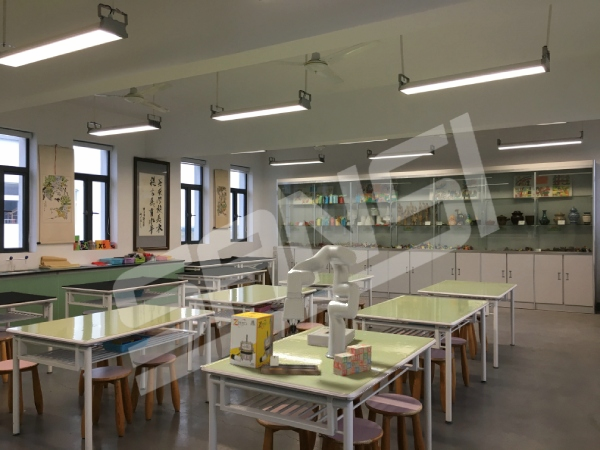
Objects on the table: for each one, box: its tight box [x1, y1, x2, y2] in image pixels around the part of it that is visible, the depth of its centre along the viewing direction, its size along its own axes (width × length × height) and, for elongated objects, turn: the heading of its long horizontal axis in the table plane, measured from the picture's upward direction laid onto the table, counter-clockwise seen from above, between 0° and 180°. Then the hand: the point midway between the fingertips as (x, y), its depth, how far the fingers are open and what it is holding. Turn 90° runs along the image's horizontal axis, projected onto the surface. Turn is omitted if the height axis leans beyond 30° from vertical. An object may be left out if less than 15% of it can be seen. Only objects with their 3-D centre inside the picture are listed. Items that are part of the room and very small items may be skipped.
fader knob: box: [269, 355, 279, 366], centre depth 238 cm, size 4×5×5 cm
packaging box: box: [229, 311, 275, 369], centre depth 254 cm, size 16×16×25 cm
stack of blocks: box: [332, 343, 372, 377], centre depth 242 cm, size 21×6×12 cm, turn 131°
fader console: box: [260, 363, 320, 376], centre depth 238 cm, size 28×10×3 cm, turn 92°
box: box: [306, 326, 356, 348], centre depth 312 cm, size 23×8×32 cm
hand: (293, 332), depth 239 cm, fingers closed
